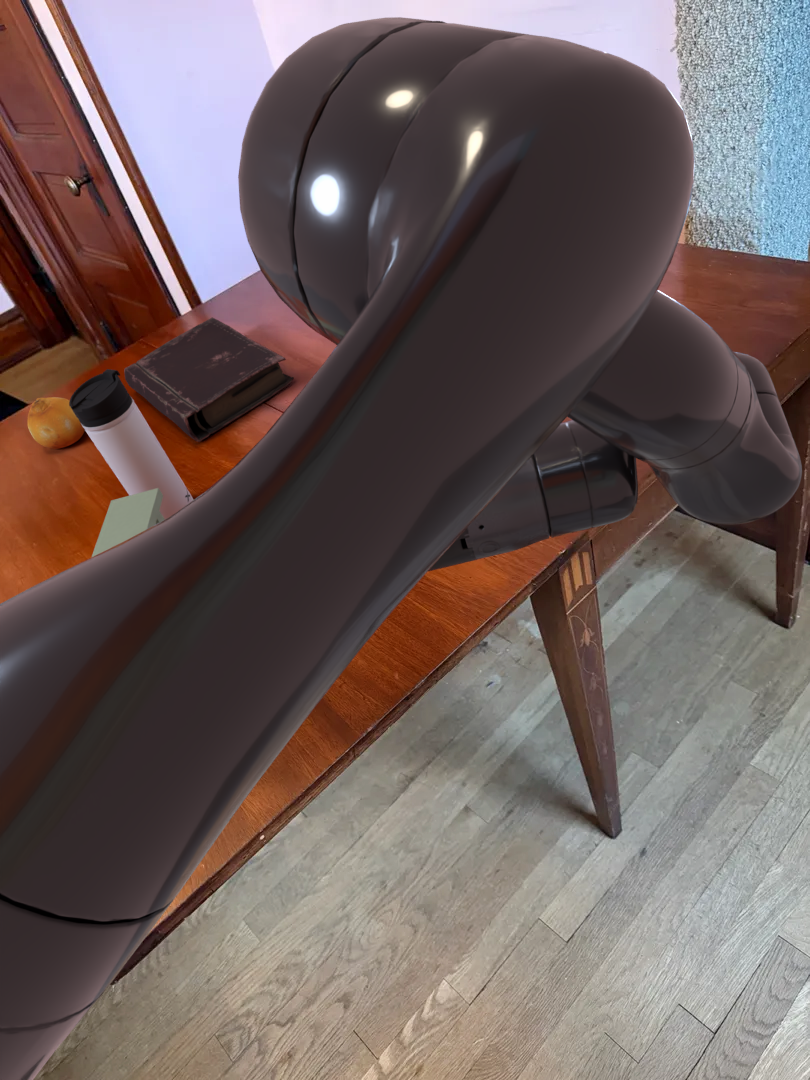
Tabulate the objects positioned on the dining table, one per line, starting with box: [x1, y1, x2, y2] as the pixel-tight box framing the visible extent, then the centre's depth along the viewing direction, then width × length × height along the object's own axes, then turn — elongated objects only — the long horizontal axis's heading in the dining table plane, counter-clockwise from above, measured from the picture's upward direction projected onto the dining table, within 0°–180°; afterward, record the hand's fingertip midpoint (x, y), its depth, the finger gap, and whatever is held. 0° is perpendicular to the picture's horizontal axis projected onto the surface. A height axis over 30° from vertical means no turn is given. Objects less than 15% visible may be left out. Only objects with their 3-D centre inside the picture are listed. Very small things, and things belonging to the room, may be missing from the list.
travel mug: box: [69, 368, 195, 519], centre depth 88 cm, size 6×7×20 cm
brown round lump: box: [26, 396, 86, 450], centre depth 116 cm, size 8×8×8 cm
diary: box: [123, 317, 294, 443], centre depth 116 cm, size 19×25×5 cm
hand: (219, 564), depth 51 cm, fingers closed
